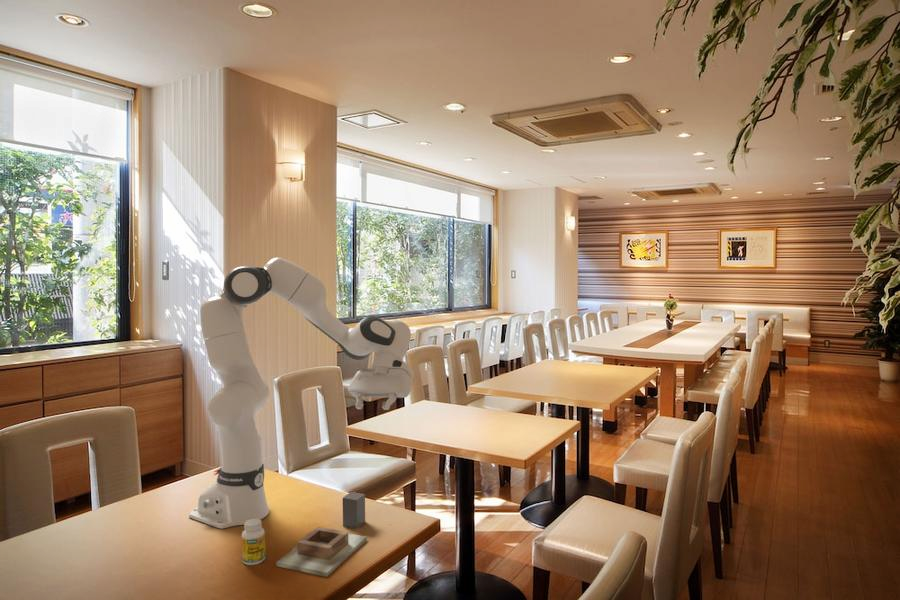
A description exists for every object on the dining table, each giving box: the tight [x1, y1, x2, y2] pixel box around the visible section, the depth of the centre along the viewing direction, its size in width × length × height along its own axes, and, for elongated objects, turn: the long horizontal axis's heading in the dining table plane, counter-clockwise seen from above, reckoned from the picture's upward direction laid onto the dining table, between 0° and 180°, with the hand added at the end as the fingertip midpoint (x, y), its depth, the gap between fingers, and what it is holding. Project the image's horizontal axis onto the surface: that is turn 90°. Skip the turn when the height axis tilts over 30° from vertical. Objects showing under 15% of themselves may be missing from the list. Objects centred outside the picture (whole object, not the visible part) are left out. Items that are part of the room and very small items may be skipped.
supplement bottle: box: [241, 519, 266, 566], centre depth 141 cm, size 5×5×10 cm
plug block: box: [342, 491, 366, 529], centre depth 161 cm, size 4×4×8 cm
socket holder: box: [275, 526, 367, 578], centre depth 145 cm, size 14×19×4 cm
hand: (371, 408), depth 169 cm, fingers open, 8 cm apart
